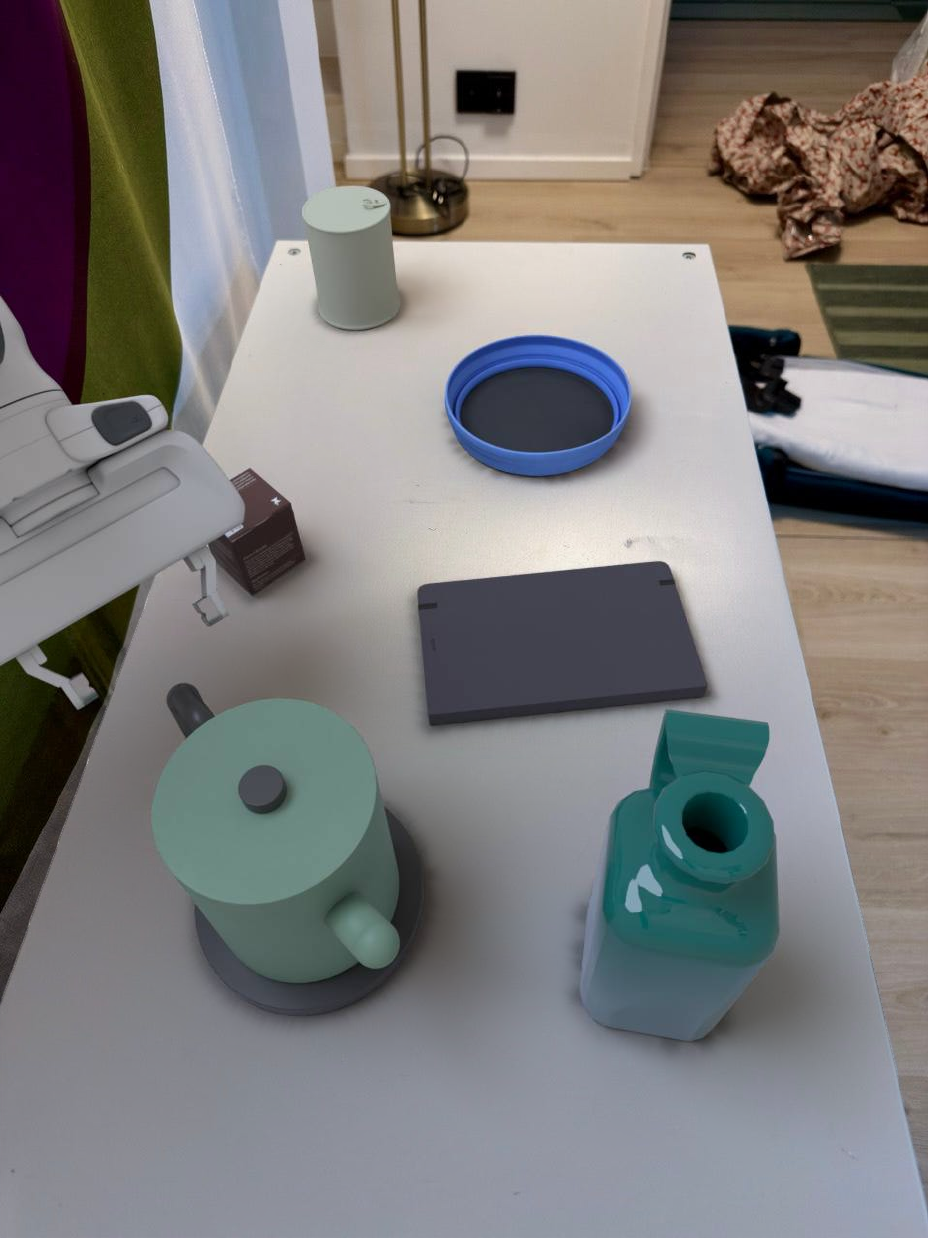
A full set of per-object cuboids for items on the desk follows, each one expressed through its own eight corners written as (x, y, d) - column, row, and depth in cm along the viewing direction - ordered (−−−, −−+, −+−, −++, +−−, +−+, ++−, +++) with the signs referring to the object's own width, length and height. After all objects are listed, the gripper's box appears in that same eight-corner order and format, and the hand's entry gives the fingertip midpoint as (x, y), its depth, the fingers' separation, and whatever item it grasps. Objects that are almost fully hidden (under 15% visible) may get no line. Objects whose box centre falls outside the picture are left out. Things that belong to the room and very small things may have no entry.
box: (268, 525, 81) (251, 465, 75) (308, 561, 79) (293, 502, 73) (212, 560, 79) (189, 501, 73) (251, 599, 76) (230, 541, 70)
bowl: (655, 461, 85) (661, 433, 82) (471, 499, 83) (470, 470, 80) (592, 349, 95) (595, 320, 93) (427, 379, 93) (425, 350, 90)
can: (406, 323, 99) (397, 219, 90) (324, 336, 98) (305, 232, 89) (392, 277, 105) (382, 175, 95) (314, 289, 104) (295, 186, 94)
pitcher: (716, 1048, 54) (821, 929, 37) (576, 1023, 55) (612, 895, 38) (717, 891, 60) (808, 723, 42) (590, 871, 61) (628, 699, 43)
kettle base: (201, 1038, 55) (195, 1033, 54) (199, 816, 64) (194, 807, 63) (441, 989, 57) (440, 983, 55) (406, 778, 66) (404, 769, 64)
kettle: (482, 950, 56) (479, 857, 44) (327, 1089, 52) (276, 1028, 40) (290, 727, 66) (245, 602, 55) (146, 827, 62) (63, 715, 50)
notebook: (429, 725, 68) (704, 696, 69) (427, 714, 67) (708, 685, 68) (417, 596, 76) (665, 571, 77) (416, 584, 75) (668, 559, 75)
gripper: (-159, 554, 47) (-1, 764, 51) (179, 384, 55) (298, 576, 58) (-139, 562, 53) (2, 750, 56) (165, 406, 61) (274, 580, 64)
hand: (155, 660), depth 57 cm, fingers open, 8 cm apart
